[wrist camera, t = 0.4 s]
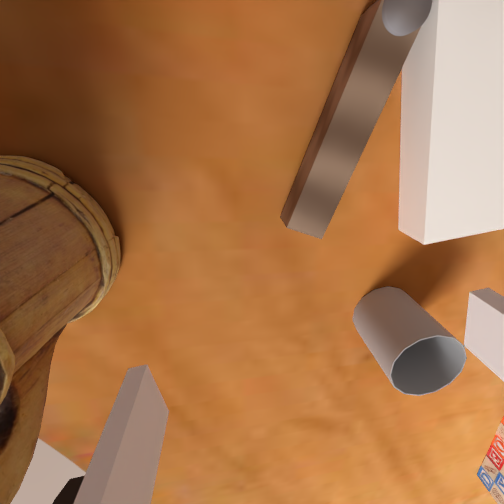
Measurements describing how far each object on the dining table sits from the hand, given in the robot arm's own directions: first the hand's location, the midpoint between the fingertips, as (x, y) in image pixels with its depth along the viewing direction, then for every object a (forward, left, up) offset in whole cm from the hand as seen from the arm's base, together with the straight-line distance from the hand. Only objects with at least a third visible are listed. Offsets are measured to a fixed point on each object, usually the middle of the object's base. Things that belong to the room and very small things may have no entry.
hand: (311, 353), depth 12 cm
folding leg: (-7, +10, -23) cm, 26 cm away
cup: (+18, +15, -24) cm, 33 cm away
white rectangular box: (-5, +22, -23) cm, 32 cm away
